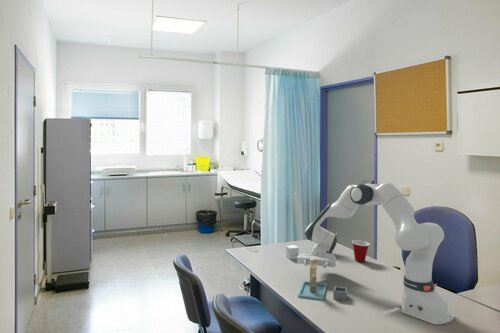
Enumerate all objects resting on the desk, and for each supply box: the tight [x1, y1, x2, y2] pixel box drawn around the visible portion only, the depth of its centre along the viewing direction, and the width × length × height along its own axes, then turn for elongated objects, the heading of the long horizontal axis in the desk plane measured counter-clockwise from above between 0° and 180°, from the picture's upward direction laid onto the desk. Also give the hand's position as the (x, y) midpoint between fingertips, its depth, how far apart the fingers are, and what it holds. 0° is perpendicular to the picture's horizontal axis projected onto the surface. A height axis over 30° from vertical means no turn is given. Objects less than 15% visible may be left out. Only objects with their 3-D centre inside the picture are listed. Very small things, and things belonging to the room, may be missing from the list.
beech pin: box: [309, 259, 318, 292], centre depth 191 cm, size 3×3×16 cm
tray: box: [297, 280, 328, 301], centre depth 192 cm, size 18×12×2 cm, turn 164°
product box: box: [285, 244, 300, 260], centre depth 245 cm, size 6×6×7 cm
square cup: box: [333, 285, 348, 302], centre depth 185 cm, size 6×6×5 cm
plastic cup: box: [351, 239, 370, 263], centre depth 240 cm, size 11×11×12 cm
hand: (315, 265), depth 200 cm, fingers open, 8 cm apart
